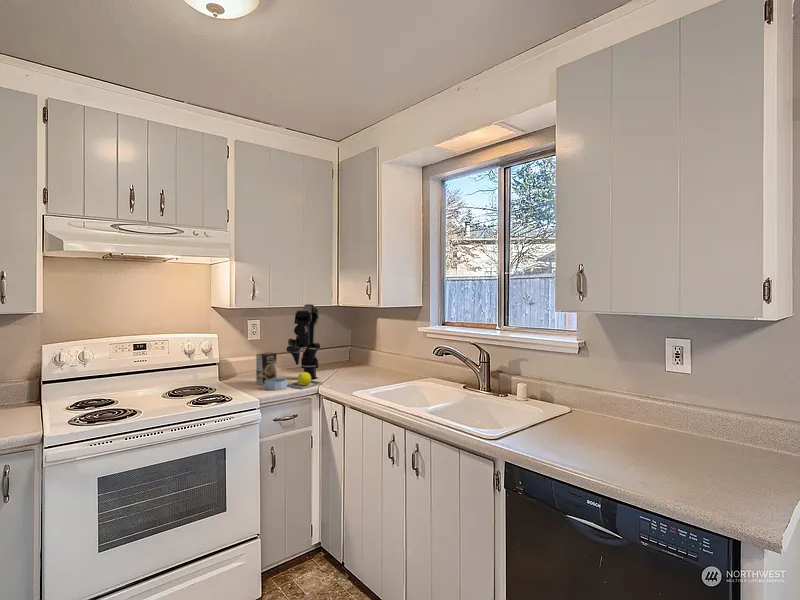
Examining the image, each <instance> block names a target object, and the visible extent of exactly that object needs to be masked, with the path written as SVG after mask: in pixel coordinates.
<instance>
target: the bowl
mask: <svg viewBox="0 0 800 600" xmlns="http://www.w3.org/2000/svg"><path fill="white" fill-rule="evenodd" d="M287 384H288V379H287V378H281V377H277V378H274V379H267V380H265V385H264V389H265V391H281V390H282V389H283V390H286V389H287V388H288V387H287Z"/></svg>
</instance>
